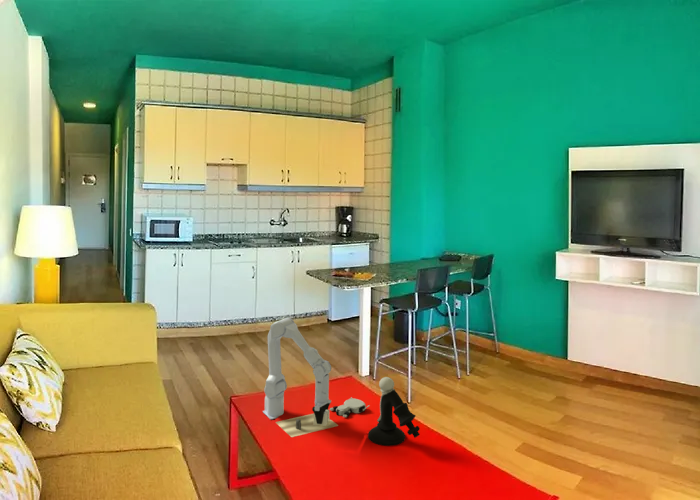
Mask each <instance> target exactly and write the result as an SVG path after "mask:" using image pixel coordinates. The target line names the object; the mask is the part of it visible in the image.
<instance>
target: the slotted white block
mask: <svg viewBox="0 0 700 500" xmlns="http://www.w3.org/2000/svg"><path fill="white" fill-rule="evenodd" d="M313 414H314V413H313ZM329 419H330V409H328V410H327V409H326V410H325V412H324V416H323V422H322V424H317V422H316V417H315V414H314V425H321V426H326V425H327V423H328V422H329Z"/></svg>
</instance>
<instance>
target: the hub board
mask: <svg viewBox="0 0 700 500" xmlns="http://www.w3.org/2000/svg"><path fill="white" fill-rule="evenodd" d="M275 424H276V425H278V426H279V427H280V428H281V430H282V431H284V432H285V433H286V434H287V435H288V436H290V438H294V437H298V436H302V435H303V436H304V435H307V434H310V433H314V432H318V431H323V430H326V429H331V428H334V427H338V426H339V424H337V423H336V422H335V421H333V420H332V419H330V418H329V422H328V423H327V425H326V426H321V425H314V413H309V414H305V415H302V416H301V415H300V416H297V417H293V418H292V417H291V418H289V419H283V420H280V421H278V420H277V421H275Z"/></svg>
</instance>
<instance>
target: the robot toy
mask: <svg viewBox="0 0 700 500" xmlns="http://www.w3.org/2000/svg"><path fill="white" fill-rule="evenodd" d="M369 407H370V404H369V405H366V403H365V402H364V401H363V400H361V399H358V398H353V397H352V396H351V397H350V398H348V399H346V400H345V401H344V402H343V404H341V405H339V406H338V405H335V406H333V407H329V411H330V412H332V411H333V412H335V414H336V416H342V418H348V417H349V416H350V414H351V413H353V414H361V413H363V412H365V410H366V409H367V408H369Z"/></svg>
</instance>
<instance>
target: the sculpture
mask: <svg viewBox="0 0 700 500" xmlns="http://www.w3.org/2000/svg"><path fill="white" fill-rule="evenodd" d="M378 383H379V384H378V386H379V388H380V390H379V391H380V392H381V395H380V401H379V413H380V415H379V417H378V418H377V420H376V421H377V424H376V425H375V426H374V427H372V428H371V429H370V430H369V431H368V433H367V438H368V440H369V441H370V442H371V443H374V444H376V445H379V446H387V447H389V446H390V447H391V446H397V445H400V444H402V443H404V442H405V440H406V434H405V431H403V430H402V429H401V428H400V427H405V426H406V428H408V430H407V431H406V432H407V435H408V436H411V435H412V436H413V437H414V439H416V438H417V437H419V436H420V433H419V431H420V426H419V425H416V426H415V425H414V424H413V422H412V421H413V420H414V419H415V418H416V414H413V413H412V412H411V410H410V409H409V405H408V403H407V402H404V401H403V400H402V398H401V396H400V395H399V394H398V392H397V391H396V389H395V382H394V380H393V378H391V377H388V376H384V377H382V378H381V379H380V380H379V382H378ZM393 414H394V415H395V416H396V418H397V419H398V422H399V427H398V426H397V424H396V423H395V422H394V418H393Z"/></svg>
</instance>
